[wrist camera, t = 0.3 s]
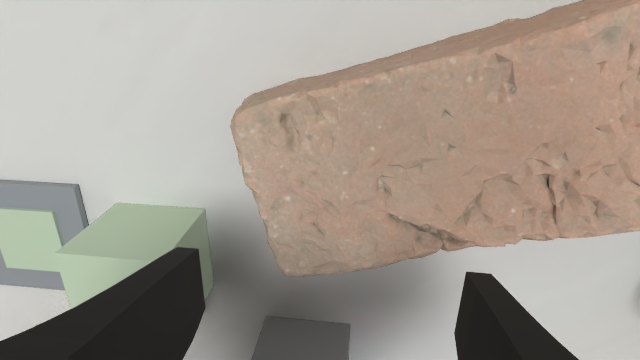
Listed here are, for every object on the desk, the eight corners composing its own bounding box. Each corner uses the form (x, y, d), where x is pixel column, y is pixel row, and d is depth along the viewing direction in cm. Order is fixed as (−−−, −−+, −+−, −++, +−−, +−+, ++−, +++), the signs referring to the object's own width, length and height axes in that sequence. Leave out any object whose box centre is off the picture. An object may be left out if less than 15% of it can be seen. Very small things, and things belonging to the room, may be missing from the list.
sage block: (214, 283, 24) (177, 349, 20) (133, 276, 25) (79, 339, 20) (205, 207, 22) (162, 261, 18) (117, 202, 23) (54, 253, 18)
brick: (294, 239, 23) (276, 296, 19) (241, 91, 20) (205, 117, 16) (632, 175, 19) (706, 226, 15) (630, -18, 16) (721, -23, 12)
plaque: (104, 289, 26) (98, 295, 25) (-1, 279, 26) (-9, 286, 26) (78, 184, 23) (71, 189, 22) (-39, 177, 23) (-49, 181, 23)
